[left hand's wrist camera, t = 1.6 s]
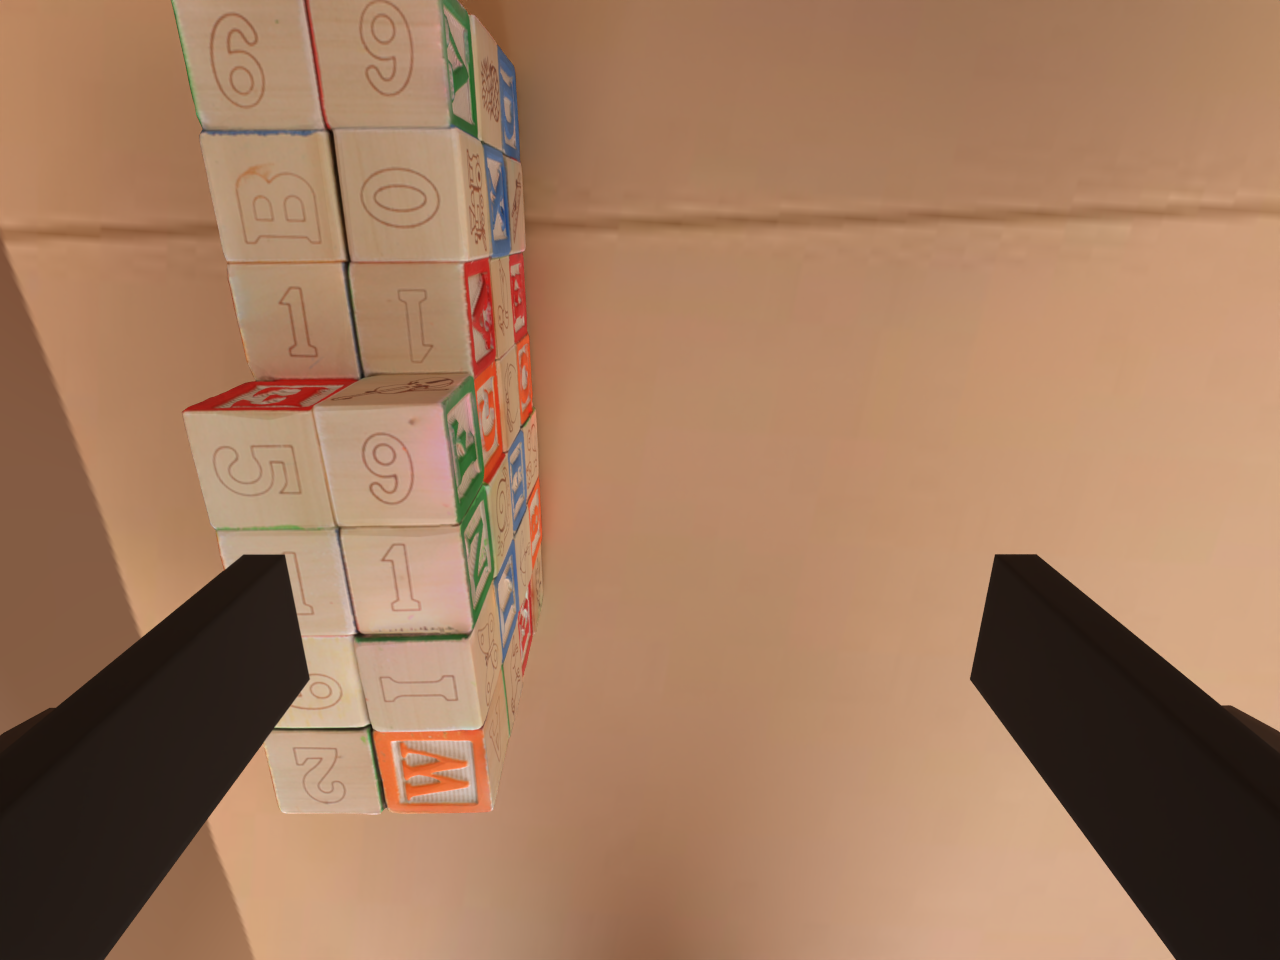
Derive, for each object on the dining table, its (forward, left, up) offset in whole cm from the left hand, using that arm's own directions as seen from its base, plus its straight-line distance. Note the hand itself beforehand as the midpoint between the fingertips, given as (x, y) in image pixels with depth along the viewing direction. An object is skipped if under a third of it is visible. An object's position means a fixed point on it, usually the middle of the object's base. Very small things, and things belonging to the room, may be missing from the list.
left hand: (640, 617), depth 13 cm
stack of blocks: (0, -7, -16) cm, 18 cm away
